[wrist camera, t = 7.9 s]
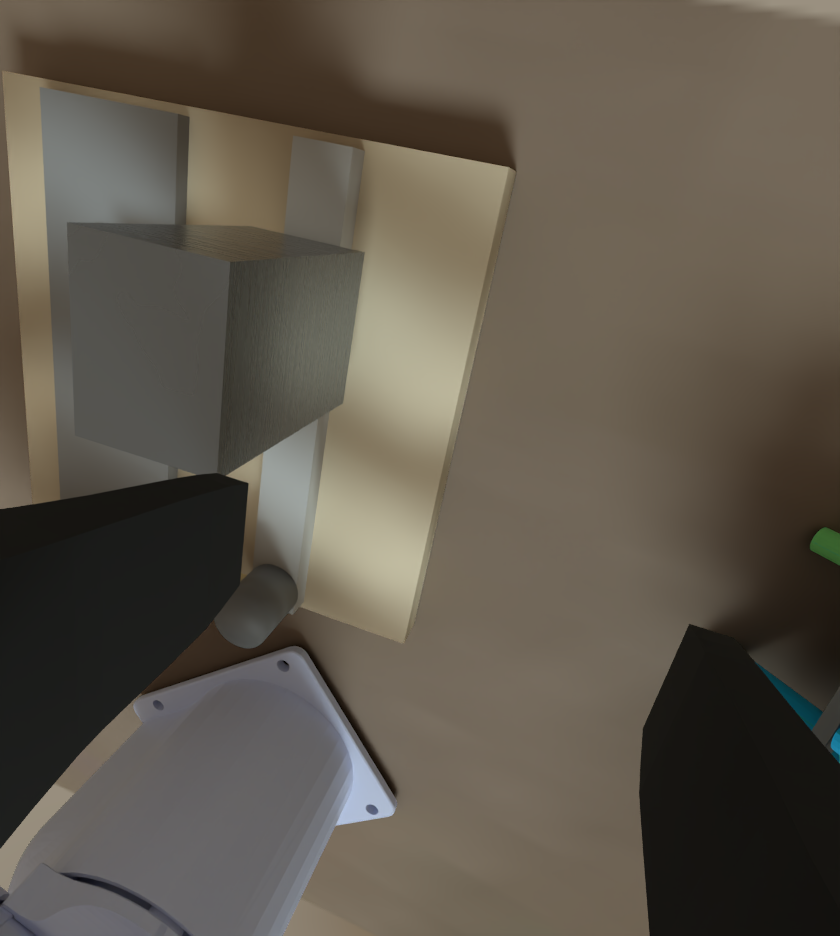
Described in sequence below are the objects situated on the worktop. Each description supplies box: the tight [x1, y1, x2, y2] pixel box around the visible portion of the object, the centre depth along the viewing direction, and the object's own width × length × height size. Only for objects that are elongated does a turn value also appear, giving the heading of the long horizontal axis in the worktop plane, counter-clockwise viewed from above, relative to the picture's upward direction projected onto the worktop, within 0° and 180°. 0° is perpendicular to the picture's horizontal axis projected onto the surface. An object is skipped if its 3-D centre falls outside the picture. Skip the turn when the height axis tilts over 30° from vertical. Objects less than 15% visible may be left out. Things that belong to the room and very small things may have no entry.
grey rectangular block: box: [67, 222, 365, 476], centre depth 14 cm, size 4×7×6 cm, turn 79°
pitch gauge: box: [2, 71, 516, 648], centre depth 19 cm, size 14×15×4 cm
